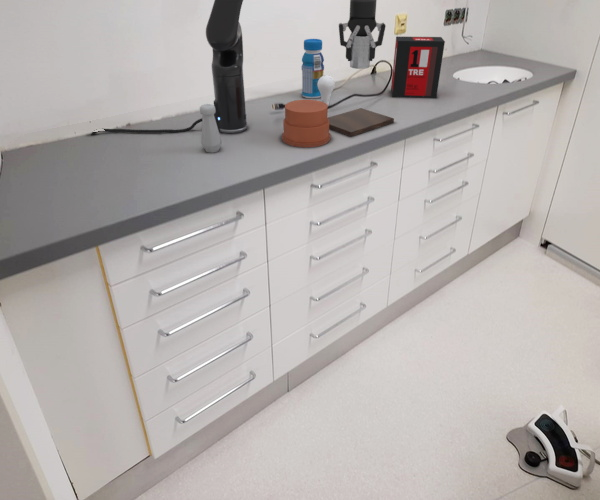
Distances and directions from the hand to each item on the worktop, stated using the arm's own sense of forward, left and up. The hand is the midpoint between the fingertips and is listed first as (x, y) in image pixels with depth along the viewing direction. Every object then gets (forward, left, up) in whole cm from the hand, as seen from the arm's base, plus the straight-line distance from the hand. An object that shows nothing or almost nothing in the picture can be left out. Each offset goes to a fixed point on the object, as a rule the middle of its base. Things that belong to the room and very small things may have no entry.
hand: (359, 60), depth 145 cm
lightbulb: (-10, +18, -20) cm, 29 cm away
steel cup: (0, 0, -2) cm, 2 cm away
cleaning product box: (+24, +35, -20) cm, 47 cm away
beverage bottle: (-15, +32, -20) cm, 41 cm away
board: (0, 0, -20) cm, 20 cm away
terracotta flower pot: (-16, -14, -20) cm, 29 cm away
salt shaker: (-43, -24, -20) cm, 53 cm away
